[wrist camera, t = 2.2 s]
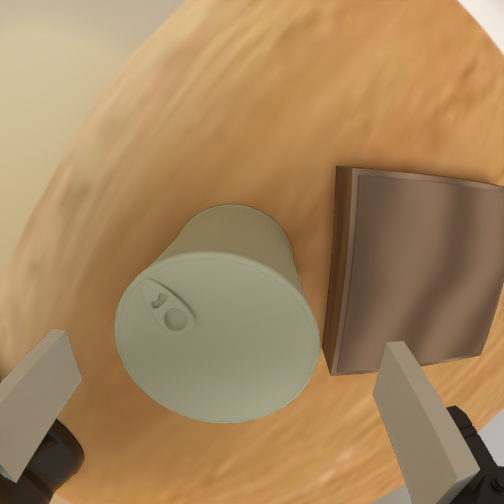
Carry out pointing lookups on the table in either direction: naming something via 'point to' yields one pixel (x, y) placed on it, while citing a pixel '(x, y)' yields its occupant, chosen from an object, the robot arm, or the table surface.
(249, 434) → the table surface
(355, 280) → the brown flat square block
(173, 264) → the can
